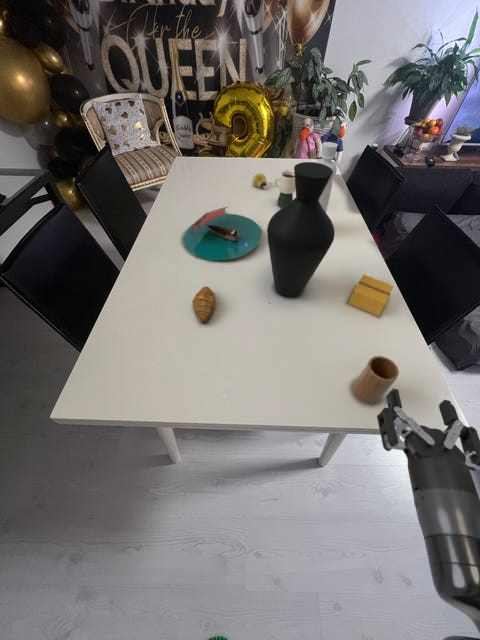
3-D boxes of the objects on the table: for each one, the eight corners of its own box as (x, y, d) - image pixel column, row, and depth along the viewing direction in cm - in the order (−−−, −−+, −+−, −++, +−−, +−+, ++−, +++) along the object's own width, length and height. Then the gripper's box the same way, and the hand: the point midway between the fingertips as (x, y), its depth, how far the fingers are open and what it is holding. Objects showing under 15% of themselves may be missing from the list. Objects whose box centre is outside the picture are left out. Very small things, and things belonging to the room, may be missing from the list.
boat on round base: (215, 210, 121) (212, 183, 112) (275, 230, 110) (276, 201, 101) (168, 247, 107) (160, 219, 98) (232, 274, 96) (229, 245, 87)
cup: (383, 388, 69) (401, 364, 62) (375, 408, 66) (394, 386, 58) (358, 375, 71) (373, 351, 64) (349, 394, 68) (364, 371, 60)
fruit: (261, 193, 132) (247, 182, 136) (270, 193, 136) (256, 182, 140) (266, 180, 129) (252, 169, 133) (275, 181, 132) (261, 170, 136)
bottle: (310, 223, 117) (330, 137, 94) (326, 234, 112) (351, 147, 89) (292, 229, 113) (308, 142, 91) (308, 241, 108) (329, 152, 86)
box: (387, 298, 90) (394, 285, 86) (378, 316, 85) (386, 303, 81) (357, 286, 93) (363, 273, 89) (347, 303, 88) (353, 290, 84)
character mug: (297, 203, 127) (303, 171, 118) (297, 211, 123) (303, 179, 113) (272, 200, 128) (275, 169, 118) (270, 208, 123) (274, 176, 114)
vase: (328, 291, 91) (369, 173, 65) (290, 317, 83) (319, 195, 57) (286, 263, 99) (308, 149, 73) (249, 285, 91) (257, 166, 65)
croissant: (194, 290, 89) (193, 278, 85) (217, 291, 89) (216, 278, 86) (190, 325, 80) (188, 312, 76) (215, 325, 80) (215, 312, 77)
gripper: (524, 508, 36) (475, 394, 48) (405, 479, 37) (385, 374, 49) (483, 522, 41) (448, 416, 53) (379, 496, 42) (367, 398, 54)
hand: (418, 396), depth 51 cm, fingers open, 8 cm apart
